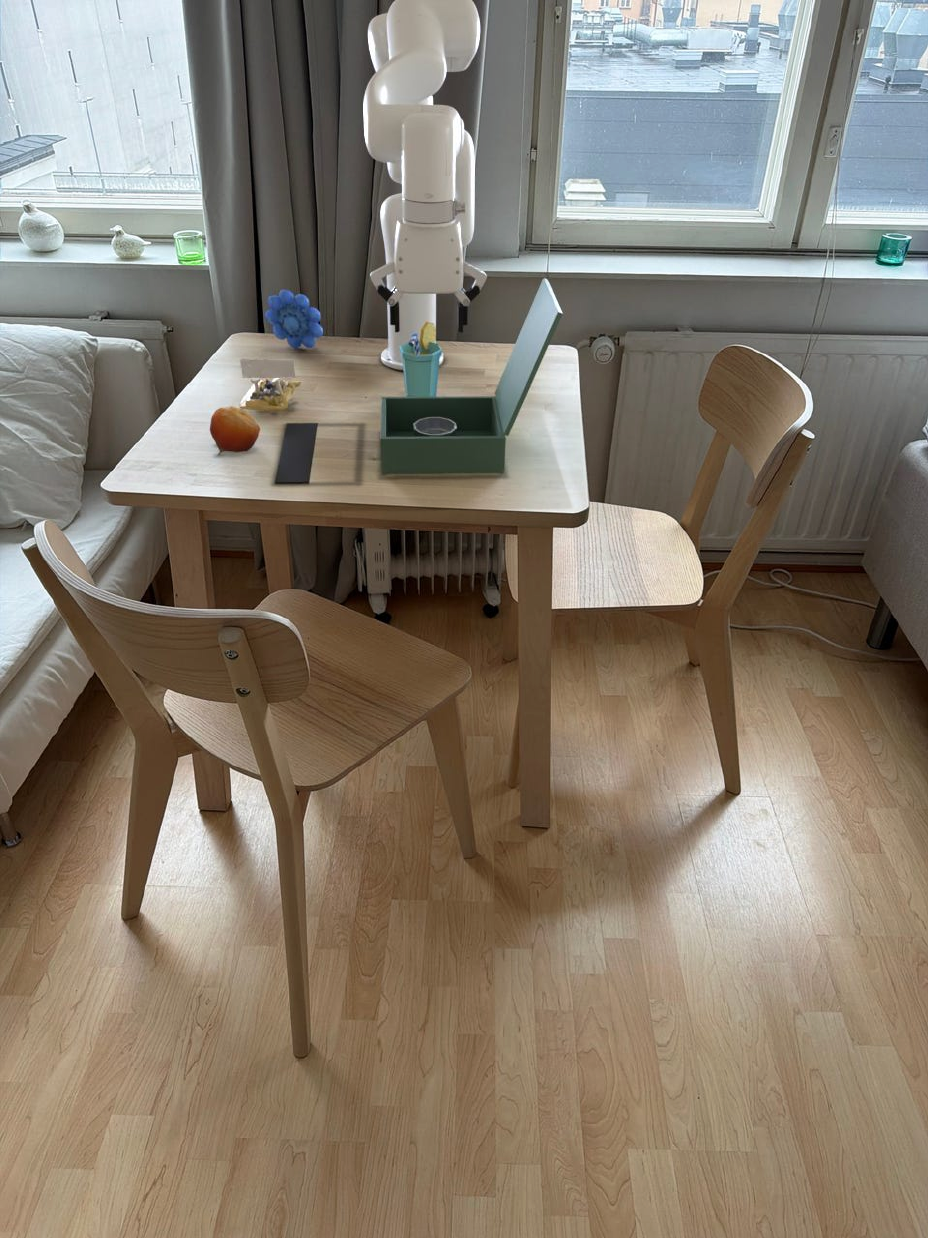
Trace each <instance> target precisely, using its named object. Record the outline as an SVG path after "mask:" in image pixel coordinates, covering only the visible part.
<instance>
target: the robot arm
mask: <svg viewBox="0 0 928 1238" xmlns="http://www.w3.org/2000/svg"><path fill="white" fill-rule="evenodd" d="M480 21H481V20H480V16H479V12H478V8H477V6H476V4H475V3H474V1H473V0H394V1H393V2H392V4H391V5H390V7H389V8H388V11H387V12H385V13H381V14H378V15H375V16H374V17H373V18H372V19H370V22H369V24H368V27H367V41H368V50H369V53H370V58H371V61H372V65H373V68H374V71H375V73H374V74H373V75H372V76H371V79H370V80H369V82H368V83H367V86H366V89H365V92H364V96H363V105H362V107H363V109H362V111H363V131H364V140H365V146H366V149H367V152H368V154H369V155H370V156H371V158H372V159H374V160H375V161H378V162H380V163H386V164H387V165H386V166H387V171H388V175H389V177H390V179H391V180H392V181H393V182H395V183H397V184H400V185H401V193H396V194H392V195H389V196H388V197H387V198H386V199H384V201H383V202H382V203H381V207H380V212H379V213H380V214H379V215H380V217H379V218H380V226H381V233H382V238H383V239H382V240H383V244H384V252H385V264H384V265H382V266H380V267H378V268H377V269H374V270H373V271H371V272H370V274H369V275H370V276H369V279H370V280H371V283H372V284H373V286H374V288H375V290H376V291H377V294H378V295H379V296H380V297H381V298H382V299H383V300H384V301H385V302H387V341H388V344H387V346H388V347H387V348H385V349H384V350H383V351H381V353H380V360H381V361H380V362H382V363H383V365H385V366H386V367H388V368H391V369H394V370H399V371H403V362H402V355H401V353H400V348H399V347H400V346H402V345H404V344H406V343H408V342H410V340H411V337H412V335H413V333H416V334H417V336H418V341H420V335H421V329H422V327H423V326H424V324H425V323H426V322H430V323H434V326H435V329H436V330H437V295H447V294H449V295H450V294H454V296H455V297H456V298H457V299H458V301H457V309H456V310H457V312H456V313H457V315H456V317H457V318H456V319H457V320H456V326H457V327H456V328H457V332H459V333H461V334H462V333H464V326H468V311H469V310H468V309H469V306H470V304H471V302H473V300H474V299H476V298H477V297H478V296H479V295H480V294H481V291H482V289H483V287H484V285H485V283H486V281H487V279H488V275H487V273H486V272H485V271H483V270H481V269H479V268H478V267H476V266H475V265H473V264H471V263H468V261H467V262H466V261H465V260H464V252H463V251H464V250H463V248H465V247H466V246H469V244H471V242H472V240H473V238H474V232H475V216H476V215H475V214H476V213H475V208H476V207H475V205H476V203H475V196H476V195H475V193H476V192H475V191H476V190H475V189H476V188H475V187H476V186H475V183H476V175H475V173H476V163H475V162H476V159H475V158H476V157H475V147H474V143H473V138H472V136H471V135H470V133H469V132H468V131H467V130H466V129H465V123H464V120H463V118H461V116H460V114H459V112H458V111H457V109H455V108H454V107H453V106H450V105H445V104H434V97H433V95H435V94H436V93H437V92H438V91H439V90H440V89H441V87H442V86H443V84H444V82H445V79H446V77H447V72H448V73H458V72H463V71H466V70H467V69H468V68H469V66H470V65H471V63H472V61H473V59H474V58H475V56H476V54H477V51H478V48H479V44H480V38H481V22H480ZM464 274H466V275H468V276H470V277H472V278H474V281H473V284H472V285H471V286H470V287H469V288H468V289H467V290H465V288H464V287H463V285H464ZM384 278H386V284H385V283H384V282H383V279H384ZM435 343H436V344H437V337H436V338H435ZM443 362H444V353H443V352H442V354H441V356H440V360H439V366H440V365H441V364H442V363H443Z"/></svg>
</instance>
